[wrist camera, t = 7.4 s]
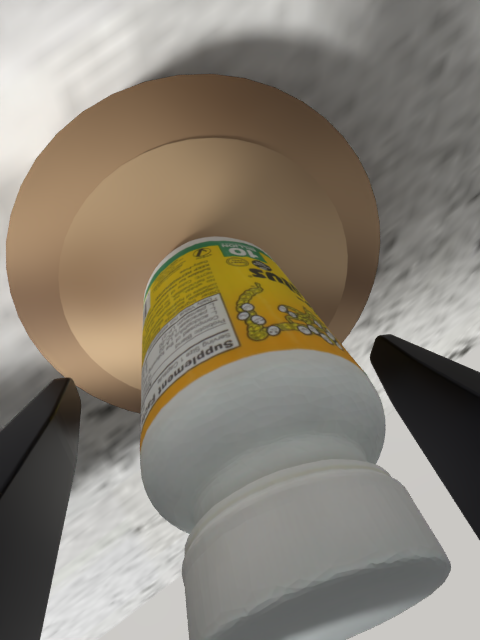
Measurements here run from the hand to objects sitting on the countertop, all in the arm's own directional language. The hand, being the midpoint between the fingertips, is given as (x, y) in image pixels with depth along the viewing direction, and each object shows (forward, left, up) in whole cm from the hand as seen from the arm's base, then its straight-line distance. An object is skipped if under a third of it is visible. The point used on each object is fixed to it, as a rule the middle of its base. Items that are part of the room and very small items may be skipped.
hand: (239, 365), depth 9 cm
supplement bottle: (0, 0, -4) cm, 4 cm away
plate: (0, 0, -6) cm, 6 cm away
